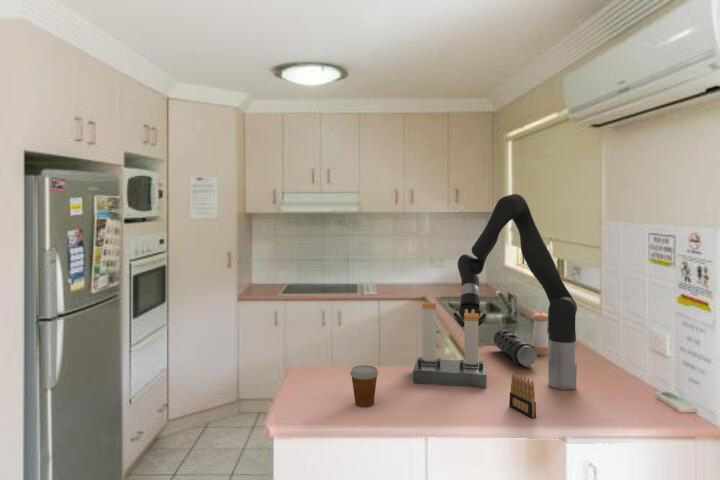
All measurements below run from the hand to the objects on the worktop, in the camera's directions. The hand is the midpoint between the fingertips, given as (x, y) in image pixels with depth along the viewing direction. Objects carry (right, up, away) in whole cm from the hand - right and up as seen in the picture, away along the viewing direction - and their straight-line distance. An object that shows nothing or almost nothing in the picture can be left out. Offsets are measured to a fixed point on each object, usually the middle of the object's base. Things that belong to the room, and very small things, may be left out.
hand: (469, 335), depth 193 cm
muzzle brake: (+26, -16, +31) cm, 44 cm away
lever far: (-14, -12, +8) cm, 20 cm away
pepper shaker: (+41, -16, +40) cm, 59 cm away
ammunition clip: (+11, -20, -26) cm, 35 cm away
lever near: (+2, -12, +4) cm, 13 cm away
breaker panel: (-6, -18, +6) cm, 20 cm away
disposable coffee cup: (-39, -20, -18) cm, 48 cm away
